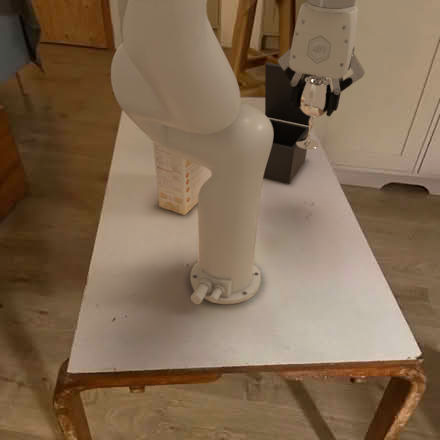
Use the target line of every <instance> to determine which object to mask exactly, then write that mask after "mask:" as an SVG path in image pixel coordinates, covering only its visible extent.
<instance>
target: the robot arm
mask: <svg viewBox="0 0 440 440" xmlns="http://www.w3.org/2000/svg"><path fill="white" fill-rule="evenodd" d="M305 1H306V2H303V3H301V5H300V8H299V11H298V15H297V19H296V23H295V28H294V30H293V31H294V32H293V36H292V42H291V47H290V48H288V50H286V52H285V53H283V54H282V55H281V56H280V57H279V58H278V59H277V63H278V65H280V66H281V67H282V69H283V70H284V71H285V74H286V75H287V77H288V78H289V80H290V81H291V85H292V86H293V88H292V96H291V102H293V107H292V109H297V108H298V106H299V96H300V92H301V89H302V86H303V82H302V78H303V76H304V74H309V75H315V76H320V77H326V78H328V79H330V80H331V86H332V92H331V94H330V96H329V102H328V107H327V112H326V113H325V115H326V116H327V117H331V116H332V114H333V113H334V112H336V111H337V110H338V108H339V103H340V99H341V94H342V92H344V91H345V90H346V89H348V88H349V87H350V86H351V85H353V84H355V83H356V82H358V81H359V80H361V79H362V78H363V77H364V76H365V73H366V71H365V69H364V68H363V66H362V64H361V63H360V61H359V59H358V57H357V56H356V54H355V49H356V42H357V35H358V21H359V8H358V6H356V1H357V0H305ZM207 4H208V0H127V4H126V8H125V12H124V16H123V19H122V28H121V36H122V37H121V38H122V42H121V43H120V45H118V47H117V49H116V51H115V52H114V55H113V57H112V61H111V67H110V81H111V82H110V83H111V87H112V91H113V94H114V96H115V100H116V102H117V104H118V105H119V108H120V109H121V110H122V111H123V113H124V114H125V115H126V116H127V117H128V118H129V119H130V120H131V121H132V122H133V123H134V124H135V125H136V126H137V127H138V128H139V129H140V131H142V132H143V133H144V134H145V135H146V136H147V137H148V138H149V139H150V140H151V141H152V143H153V142H154V143H155V144H156V145H157V146H159V147H160V148H161V149H163V150H164V151H166V152H168V153H170V154H172V155H174V156H177V157H180V158H182V159H185V160H188V161H191V162H193V163H196V164H199V165H201V166H203V167H206V168H208V169H209V170H210V171H211V173H212V176H211V177H210V178H209V179H208V180H207V181H206V182H205V183H204V184H203V185H202V187H201V188H200V191H199V195H198V203H197V217H198V218H197V222H198V223H197V224H198V228H197V230H198V261H197V262H196V263H195V264H194V265H193V267H192V269H191V271H190V285H191V287H192V289H193V292H192V294H191V295H190V300H191V302H193V303H194V304H196V305H199V304H201V303H202V302H203V300H206V301H208V302H211V303H214V304H219V305H235V304H238V303H242V302H245V301H247V300H249V299H251V297H254V295H255V294H256V293H257V292H258V291H259V289H260V286H261V282H262V281H261V279H262V278H261V277H262V275H261V271H260V270H259V268H258V266H257V265H256V264H255V263H254V262H255V252H256V251H255V250H256V243H257V242H256V241H257V232H258V224H259V223H258V221H259V211H260V201H261V193H262V185H263V181H264V178H263V176H264V172H265V168H266V164H267V161H268V158H269V154H270V151H271V147H272V143H273V127H272V124H271V122H270V120H269V119H270V118H268V117H267V116H266V115H265V112H263V111H261V110H260V109H258V108H256V107H254V106H252V105H250V104H247V103H244V102H241V90H240V86H239V83H238V80H237V77H236V74H235V72H234V70H233V68H232V66H231V64H230V62H229V60H228V58H227V56H226V54H225V51H224V50H223V48H222V46H221V44H220V42H219V40H218V38H217V36H216V34H215V32H214V29H213V27H212V26H211V22H210V21H209V17H208V14H207V13H208V12H207ZM350 69H351V71H352V74H350V75H349V76H347V77H346V78H344V77H345V76H346V75H347V73H348V71H349V70H350Z"/></svg>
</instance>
